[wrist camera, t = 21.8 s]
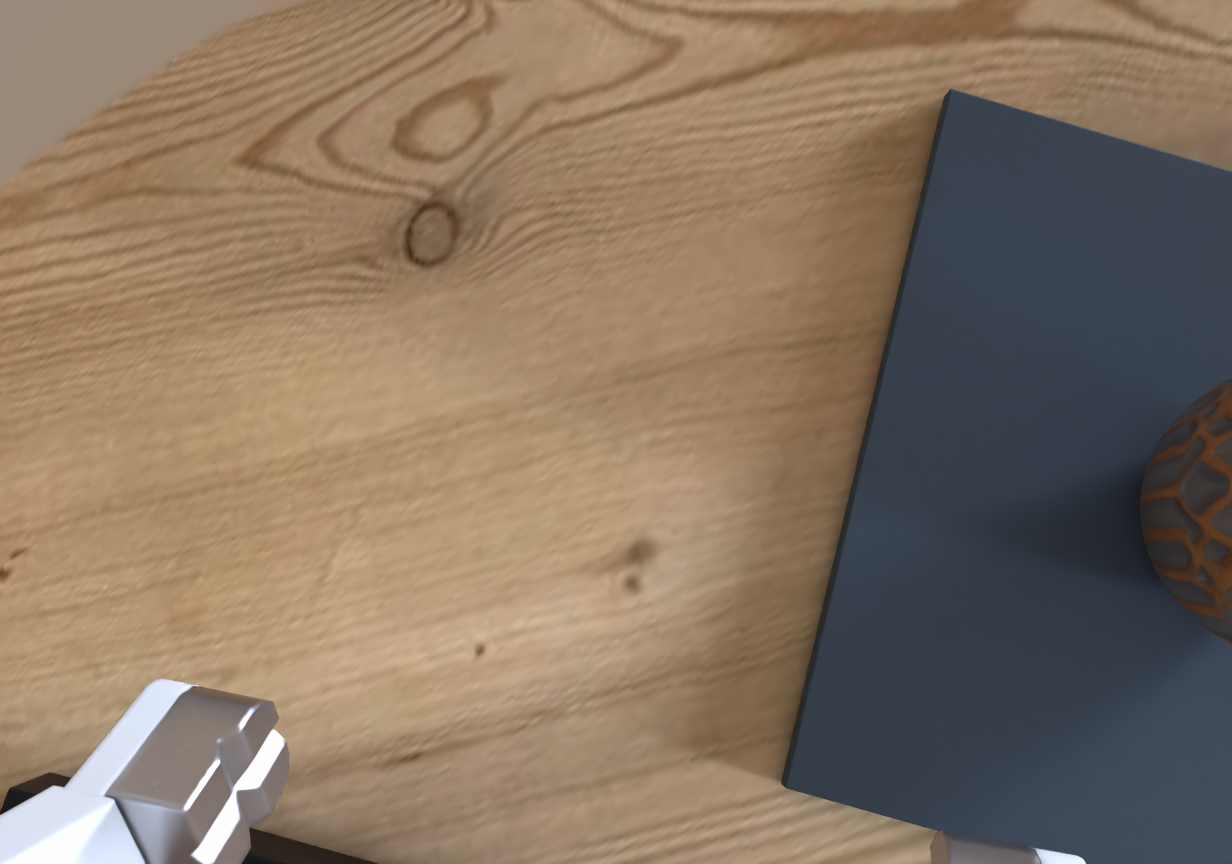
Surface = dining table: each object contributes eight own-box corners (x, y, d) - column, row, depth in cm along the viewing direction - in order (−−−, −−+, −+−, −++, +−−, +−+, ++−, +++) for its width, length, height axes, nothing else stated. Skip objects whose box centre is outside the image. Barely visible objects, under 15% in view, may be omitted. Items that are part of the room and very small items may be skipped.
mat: (780, 783, 21) (784, 787, 20) (944, 95, 24) (950, 87, 23) (1512, 990, 21) (1531, 998, 21) (1587, 285, 24) (1604, 280, 24)
